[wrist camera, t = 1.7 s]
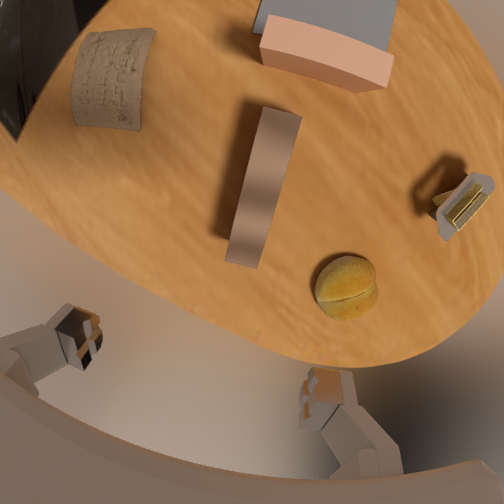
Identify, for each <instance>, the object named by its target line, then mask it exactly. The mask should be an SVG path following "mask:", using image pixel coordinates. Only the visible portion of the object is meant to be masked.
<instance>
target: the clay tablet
mask: <svg viewBox="0 0 504 504" xmlns="http://www.w3.org/2000/svg"><path fill="white" fill-rule="evenodd" d="M156 32H157V31H155V30H153V29H152V28H141V29H124V30H114V31H104V32H101V33H99V32H94V33H92V32H90V33H88V34H87V36H86V38H85V40H84V41H83V42H84V43H83V44H81V47H80V48H79V53H78V55H77V58H76V69H75V71H74V73H73V81H72V86H71V93H70V97H71V99H70V103H71V110H72V113H73V118H74V121H75V122H76V123H75V125H76V126H77V127H79V126H93V127H107V128H114V129H124V130H132V131H137V132H139V131H140V127H141V120H140V108H139V107H140V104H141V98H140V96H141V91H142V81H143V79H142V76H141V74H142V72H143V69H144V65H145V61H146V59H147V53H148V51H149V48H150V45H151V42H152V39H153V38H154V35H155V34H156Z"/></svg>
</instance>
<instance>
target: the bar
mask: <svg viewBox="0 0 504 504" xmlns="http://www.w3.org/2000/svg"><path fill="white" fill-rule="evenodd" d="M301 120H302V117H301V116H298V115H295V114H291V113H288V112H284V111H280V110H277V109H273V108H269V107H265V106H263V110H262V114H261V117H260V121H259V125H258V129H257V132H256V136H255V140H254V144H253V147H252V151H251V155H250V159H249V163H248V167H247V171H246V175H245V178H244V182H243V186H242V190H241V194H240V198H239V202H238V206H237V211H236V215H235V219H234V223H233V227H232V231H231V235H230V239H229V244H228V248H227V252H226V256H225V261H226V262H230V263H234V264H238V265H242V266H245V267H249V268H253V269H257V267H258V264H259V260H260V257H261V254H262V251H263V247H264V244H265V241H266V237H267V234H268V231H269V228H270V224H271V221H272V218H273V214H274V211H275V208H276V204H277V201H278V198H279V194H280V191H281V188H282V184H283V181H284V177H285V174H286V171H287V167H288V164H289V161H290V157H291V154H292V150H293V147H294V144H295V140H296V137H297V133H298V130H299V126H300V123H301Z"/></svg>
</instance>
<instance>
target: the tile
mask: <svg viewBox="0 0 504 504" xmlns="http://www.w3.org/2000/svg"><path fill="white" fill-rule="evenodd" d="M259 48H260V52H261V57H262V61H263V65H264V66H268V67H273V68H277V69H281V70H285V71H288V72H292V73H296V74H299V75H303V76H306V77H310V78H313V79H316V80H319V81H322V82H325V83H328V84H331V85H334V86H337V87H340V88H343V89H346V90H348V91H351V92H354V93H360V92H366V91H372V90H378V89H384V88H387V84H388V81H389V77H390V73H391V69H392V65H393V61H394V57H395V56H393V55H391V54H389V53H386V52H384V51H382V50H380V49H377V48H375V47H373V46H370V45H368V44H366V43H363V42H361V41H358V40H356V39H353V38H350V37H348V36H345V35H342V34H339V33H336V32H333V31H330V30H327V29H324V28H321V27H318V26H314V25H311V24H307V23H304V22H300V21H296V20H292V19H288V18H284V17H279V16H275V15H270V14H269V15H268V19H267V22H266V25H265V29H264V32H263V36H262V39H261V42H260V46H259Z"/></svg>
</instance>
